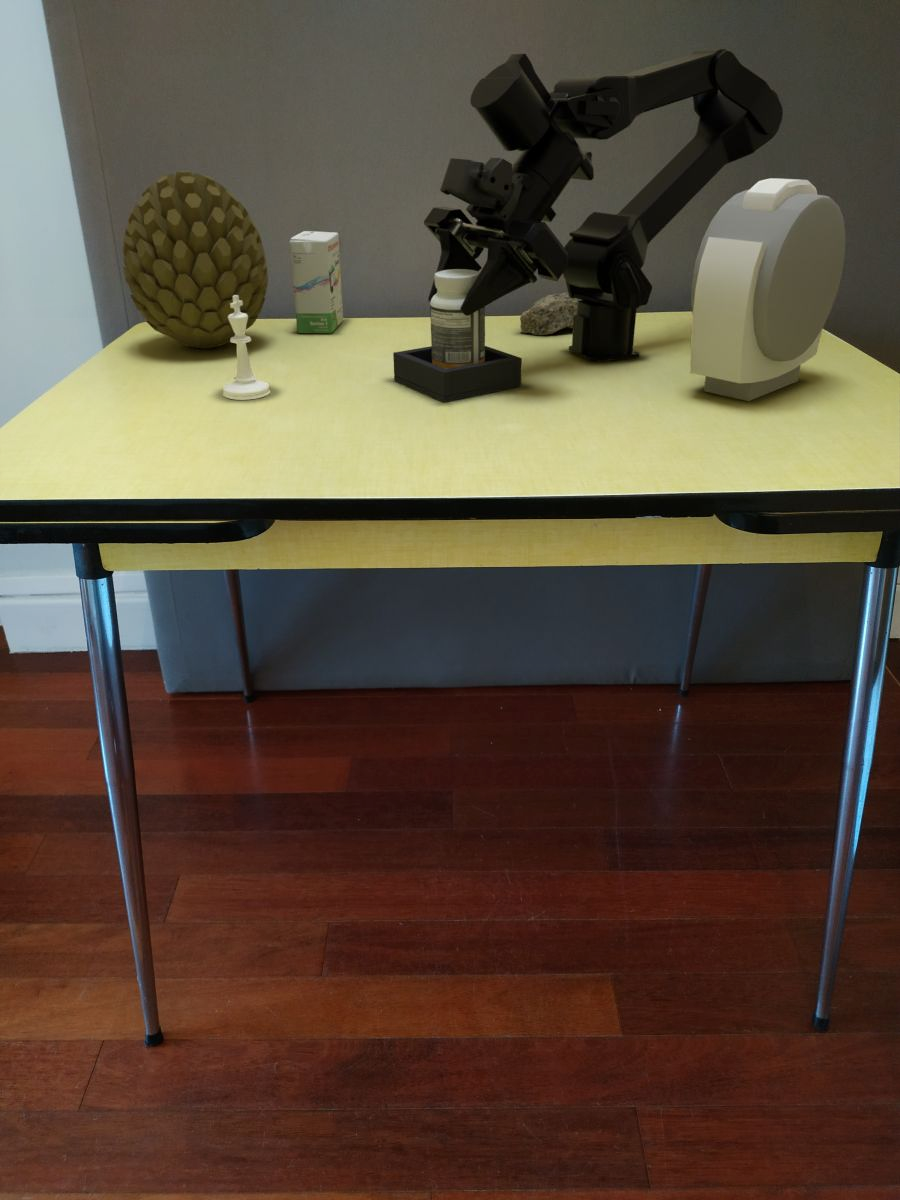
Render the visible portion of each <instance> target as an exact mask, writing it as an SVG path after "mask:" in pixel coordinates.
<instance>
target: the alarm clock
mask: <svg viewBox="0 0 900 1200" xmlns="http://www.w3.org/2000/svg"><path fill="white" fill-rule="evenodd" d="M698 249H699V250H698V252H697V256H696V259H695V262H694V269H693V273H692V279H691V292H690V294H691V295H690V304H691V313H692V320H691V321H692V322H691V338H690V363H689V364H690V365H689V366H690V367H689V368H690V369H689V373H690V374H694V375H699V376H702V377H705V379H704V387H703V392H706V393H711V394H715V395H720V396H724V397H729V398H731V399H732V398H733V399H736V400H737V399H738V400H742V401H745V402H750V401H752V400H755V399H758V398H760V397H763V396H765V395H768V394H769V393H773V392H775V391H777V390H779V389H782V388H784V387H787V386H789V385H792V384H794V383H797V382H799V377H800V372H801V366H802V365H803V364H805V363H806V362H808V361H809V360H810V359H812V358H814V357H815V356H816V355H817V352H818V349H819V344H820V341H821V338H822V337H821V336H822V333H823V330H824V327H825V325H826V322H827V320H828V317H829V316H830V313H831V312H832V309H833V306H834V304H835V301H836V297H837V294H838V291H839V287H840V283H841V280H842V276H843V271H844V270H843V269H844V265H845V264H844V262H845V256H846V228H845V220H844V216H843V214H842V211H841V207H840V206H839V204H837V202H835V200H834V199H833V198H832V197H830V196H828V195H824V194H818V191H817V187H816V186H814V184H813V183H812V182H810V181H809V180H808V179H797V178H795V179H794V178H777V177H776V178H771V177H770V178H766V179H761V180H758V181H757V182H756V183H755V184H754V185H753V186H752V187H751V188H750V189H745V190H743V191H741V192H737V193H735V194H734V195H732V196H731V197H730V198H729V199H728V200H727V201H726V202H725V203H724V204H723V205H721V206H720V208H719V209H718V211H717V212H716V213H715V215H714V217H713V218H712V219H711V221H710V223H709V224H708V226H707V229H706V231H705V233H704V235H703V237H702V240H701V243H700V246H699V248H698Z"/></svg>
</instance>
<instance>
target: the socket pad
mask: <svg viewBox="0 0 900 1200" xmlns="http://www.w3.org/2000/svg"><path fill="white" fill-rule="evenodd" d="M392 353H393V354H392V355H393V359H392V360H393V380H394V381H395V382H397V383H399V384H400V385H401V384H402V385H404V386H406V387H408V388H410V389H413V390H415V391H417V392H420V393H422V394H424V395H427V396H429V397H431V398H434V399H435V400H438V401H441V402H443V403H447V402H451V401H457V400H462V399H466V398H471V397H476V396H481V395H486V394H491V393H496V392H500V391H507V390H509V389H510V390H511V389H515V388H520V387H522V366H523V365H522V363H523V362H522V361H523V360H522V359H523V358H522V357H520V356H517V355H514V354H511V353H509V352H505V351H502V350H499V349H497V348H493V347H490V346H488V345H485V362H482V363H476V364H471V365H465V366H460V367H454V368H449V369H445V368H442V367H440V366H437V365H434V364H433V363H432V345H431V346H424V347H418V348H412V349H406V350H402V351H401V350H400V351H394V352H392Z"/></svg>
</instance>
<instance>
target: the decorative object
mask: <svg viewBox="0 0 900 1200" xmlns="http://www.w3.org/2000/svg"><path fill="white" fill-rule="evenodd" d="M175 173H176V174H174V173H171V174H170V173H169V174H166V175H163V176H162V177H160V178H158V180H157V181H156V186H155V184H154V183H152V182H151V184H150V185H149V186H148V187H147V189H145V191H143V192H142V194H141V196H142V197H141V199H140V201H139V203H137V204H134V205H133V207H132V209H131V211H130V214H129V215H128V219H127V224H126V228H125V233H124V236H123V240H122V254H123V256H122V257H123V264H124V266H122V267H123V273H124V278H125V282H126V284H127V285H128V287H129V290H130V292H131V294H130V297H131V300H132V302H133V304H134V306H135V308H136V309H137V310H138V311H139V312H140V314H141V316H142V317H143V318H144V319H145V322H146V323H147V324H148V325H149V326H150V328H152V329H153V330H154V331H155V332H157V333H160V334H162V335H164V336H166V337H169V338H170V339H173V340H174V341H177V342H178V343H180V344H183V345H185V346H186V347H189V348H194V349H205V350H206V349H213V348H217V347H220V346H224V345H226V344H228V343H231V342H230V340H231V337H234V335H235V333H234V331H233V328H232V326H231V323H230V322H229V319H228V316H229V315H230V314H232V313H234V308H230V303H233V296H234V295H238V296H239V300H241V301H242V302H243V305H242V306H240V312H242V313H245V314H247V315H248V321H247V325H246V331H247V330H249V328H251V327H252V326H253V325H254V324H255V322H256V321H257V319H258V317H259V314H261V312H262V309H263V308H264V304H265V301H266V294H267V288H268V285H269V275H268V265H267V259H266V253H265V249H264V246H263V241H262V239H261V235H260V232H259V230H258V228H257V226H256V225H255V223H254V220H253V219H252V217H251V216H250V214H249V212H248V210H247V209H246V208H245V206H244V205H243V204H242V203H241V202H240V200H239V199H238V198H237V197H236V196H235V195H234V193H232V192H230V191H229V190H228V189H227V188H225V187H224V186H223V185H222V184H220V183H219V182H218V181H216V180H215V179H214V178H213V177H211V176H209V175H207V174H203V175H202V174H199V173H192V171H191V170H183V171H181V170H179V171H176V172H175Z"/></svg>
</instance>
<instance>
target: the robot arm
mask: <svg viewBox="0 0 900 1200" xmlns="http://www.w3.org/2000/svg"><path fill="white" fill-rule="evenodd" d="M536 72H537V71H535V68H534V66H533V63H532V61H531V60H530V58H529V56H528V55H527V54H526V53H512V54H510V56H509V57H508V59H507V60H506V62H503V63H502V64H500V65H498V66H496V68H494V69H493V70H491V71H490V72H489V73H487V74H486V76H485V77H482V78H481V79H479V81H478V82H477V83H476V84H475V87H474V88H473V90H472V93H471V95H470V99H469V101H470V105H471V106H472V108H473V109H474V111H475V112H476V114H477V115H478V116H479V117H480V119H481V120H482V121H483V123H484V125H486V127H487V128H488V130H489V131H490V133H491V134H492V136H494V138H495V139H496V141H497V142H498V143H499V145H500V146H501V148H502V150H505V151H507V152H513V151H518V152H520V154H519V155H518V156H517V158H516V159H515V161H514V163H513V164H512V163H511V162H510V161H508V160H506V159H505V158H503V157H490V158H489V160H488V161H486V163H485V162H482V161H475V160H472V159H466V158H455V157H451V158H449V161H448V165H447V168H446V171H445V174H444V176H443V180H442V183H441V186H440V189H439V190H440V191H439V192H441V193H443V194H445V195H446V196H449V195H451V196H453V197H455V198H456V199H459V200H461V201H462V202H464V203H466V204H468V205H467V207H466V208H465V210H466V211H467V212H468V214H469V215H470V217H472V218H475V220H476V222H475V224H473V223H472V221H471V220H470V219H469V217H468V216H467V215H466V214H465V213H464V212H463V211H462V209H460V208H456V207H448V206H435V207H433V208H432V209H431V210H430V212H429V213H428V214H427V216H426V217H425V218H424V220H423V225H424V226H425V227H426V228H427V230H429V232H430V233H431V234H432V235H433V236H434V237H435V239H437V241H438V242H439V244H440V256H439V261H438V265H437V269H436V271H435V273H437V272H439V271H443V270H451V269H468V270H475V271H478V272H479V271H480V270H481V271H480V272H479V273H480V274H479V275H478V277H477V279H476V280H475V282H474V284H473V285H472V287H471V289H470V291H469V292H468V294H467V296H466V298H465V300H464V302H463V304H462V306H461V308H460V310H461V312H462V313H463V314H464V315H466V316H469V315H471V314H472V313H474V312H476V311H478V310H479V309H481V308H483V307H485V308H486V306H488V305H490V304H492V303H494V302H495V301H497V300H499V299H501V298H503V297H505V296H506V295H508V294H510V293H512V292H514V291H516V290H518V289H520V288H522V287H525V286H526V285H528V284H535V283H536V282H537V281H538V278H537V277H538V276H539V278H540V279H544V280H548V281H552V282H558V281H559V280H560V278H561V277H562V275H563V279H564V280H565V284H566V289H567V293H568V294H569V297H570V298H572V299H575V298H576V299H579V300H581V301H578V308H577V314H575V315H574V319H573V328H572V339H571V345H569V346H568V351H570V352H571V353H574V354H576V355H577V356H580V357H581V358H584V359H586V360H588V361H590V362H593V363H594V362H597V363H598V362H605V361H614V360H616V361H617V360H623V359H624V360H625V359H632V358H639V357H640V356H641V352H639V351H638V350H635V349H634V343H635V342H634V341H635V329H636V321H637V320H636V319H637V309H640V307H642V306H647V305H648V302H649V301H650V300H649V299H650V296H651V294H652V291H653V285H652V284H651V282H650V280H649V279H648V277H647V276H646V274H645V273H644V271H643V270H642V268H643V267H644V265H645V261H646V256H647V251H648V246H649V244H650V243H651V241H652V240H653V239H655V238H656V237H657V235H658V234H659V233H661V231H662V230H663V229H664V228H666V226H667V225H668V224H669V223H670V222H671V221H673V219H674V218H675V217H676V216H677V215H678V214H679V213H680V212H682V210H683V209H684V208H685V207H686V206H687V205H688V204H689V203H690V202H691V201H692V200H693V199H694V198H695V196H696V195H698V194H699V193H700V192H701V190H703V189H704V187H706V186H707V185H708V184H709V183H710V181H712V180H713V178H715V176H717V174H718V173H720V171H722V169H723V168H724V167H725V166H726V165H728V164H730V163H733V162H735V161H738V160H740V159H743V158H745V157H747V156H751V155H753V154H755V153H756V152H757V151H759V150H760V149H762V148H763V147H764V146H765V145H767V144H768V143H770V142H771V141H772V140H773V139H774V138H775V136H776V135H777V133H778V132H779V130H780V126H781V124H782V122H783V115H784V111H783V105H782V103H781V101H780V98H779V95H778V94H777V93H776V91H775V90H773V89H772V88H771V87H770V85H769V84H768V82H766V80H765V79H763V78H762V77H760V76H759V75H757V74H756V73H754V72H753V71H751V69H748V67H746V66H744V65H742V63H741V62H740V61H739V59H738V57H737V56H736V54H734V53H733V52H732V51H730V50H728V49H726V48H709V49H696V50H693V51H692V52H691V53H690V54H688V55H685V56H680V57H678V58H674V59H671V60H668V61H665V62H660V63H657V64H654V65H650V66H648V67H644V68H641V69H638V70H634V71H630V72H628V73H624V74H621V75H605V76H601V75H600V76H574V77H573V76H569V77H564V78H562V79H560V80H559V81H557V82H556V83H555V85H554V87H553V91H550V92H549V91H548V89H547V88H546V86H545V85H544V83H543V82H542V80H541V79H540V77H539V75H538V74H537V73H536ZM689 98H692V103H693V110H694V111H693V112H695V114H696V115H697V116H698V120H697V121H698V122H697V127H696V132H695V135H694V137H693V138H691V140H690V141H689V142H687V144H686V145H685V146H684V147H682V149H680V151H679V152H678V153H677V154H676V155H675V156H674V157H673V158H672V159H670V161H669V162H668V163H667V164H665V166H663V167H662V168H661V170H660V171H659V172H658V173H657V174H656V175H655V176H654V177H653V178H652V179H651V180H650V181H649V182H648V183H647V184H646V185H645V186H644V187H643V188H642V189H641V190H640V191H639V192H637V194H636V195H635V196H634V197H633V198H632V199H631V200H630V201H629V202H628V203H627V204H626V205H624V207H623V208H622V209H621V210H619V212H618V213H616V214H615V213H609V212H599V211H593V212H592V213H590V214H589V215H588V216H587V217H586V218H585V219H584V221H583V222H582V223H581V225H580V226H579V227H578V228H577V229H575V230H573V231H571V232H569V237H571V238H570V239H569V240H568V241H567V243H566V244H565V246H564V245H563V243H561V241H560V239H559V238H558V237H557V236H556V235H555V233H554V232H553V231H552V229H551V228H550V226H549V225H548V224H547V222H549V223H552V221H553V220H554V219H555V217H556V215H557V213H556V212H555V210H554V209H553V207H552V206H553V205H554V204H555V202H556V201H557V200H558V198H559V197H560V195H561V194H562V193H563V191H564V190H565V188H566V187H567V186H568V184H569V182H570V181H571V180H581V181H593V180H594V177H595V176H594V175H595V174H594V173H595V172H594V169H595V168H594V166H593V161H592V158H593V153H592V151H584V150H583V149H582V148H581V146H580V145H579V143H578V142H577V141H576V140H594V141H595V140H597V141H603V140H608V139H611V138H612V137H614V136H615V135H618V134H619V133H620V132H622V131H623V130H626V129H627V128H629V127H630V126H631V125H632V123H633V122H634V120H635V119H636V118H637V117H640V116H641V115H642V114H644V113H647V112H650V111H652V110H656V109H659V108H663V107H665V106H669V105H672V104H674V103H677V102H681V101H683V100H686V99H689ZM485 249H487V256H486V261H485V263H484V265H483V267H482V266H481V265H480V264H479V262H478V261H477V259H478V258H479V257H480V256H481V254H482V253H483V251H484V250H485ZM536 272H537V276H536V275H535V273H536ZM436 293H437V288H436V286H435V277H434V279H433V282H432V285H431V288H430V291H429V295H428V299H427V300H428V302H429V304H430V303H431V299H432V297H433V296H434V295H435V294H436Z"/></svg>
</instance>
